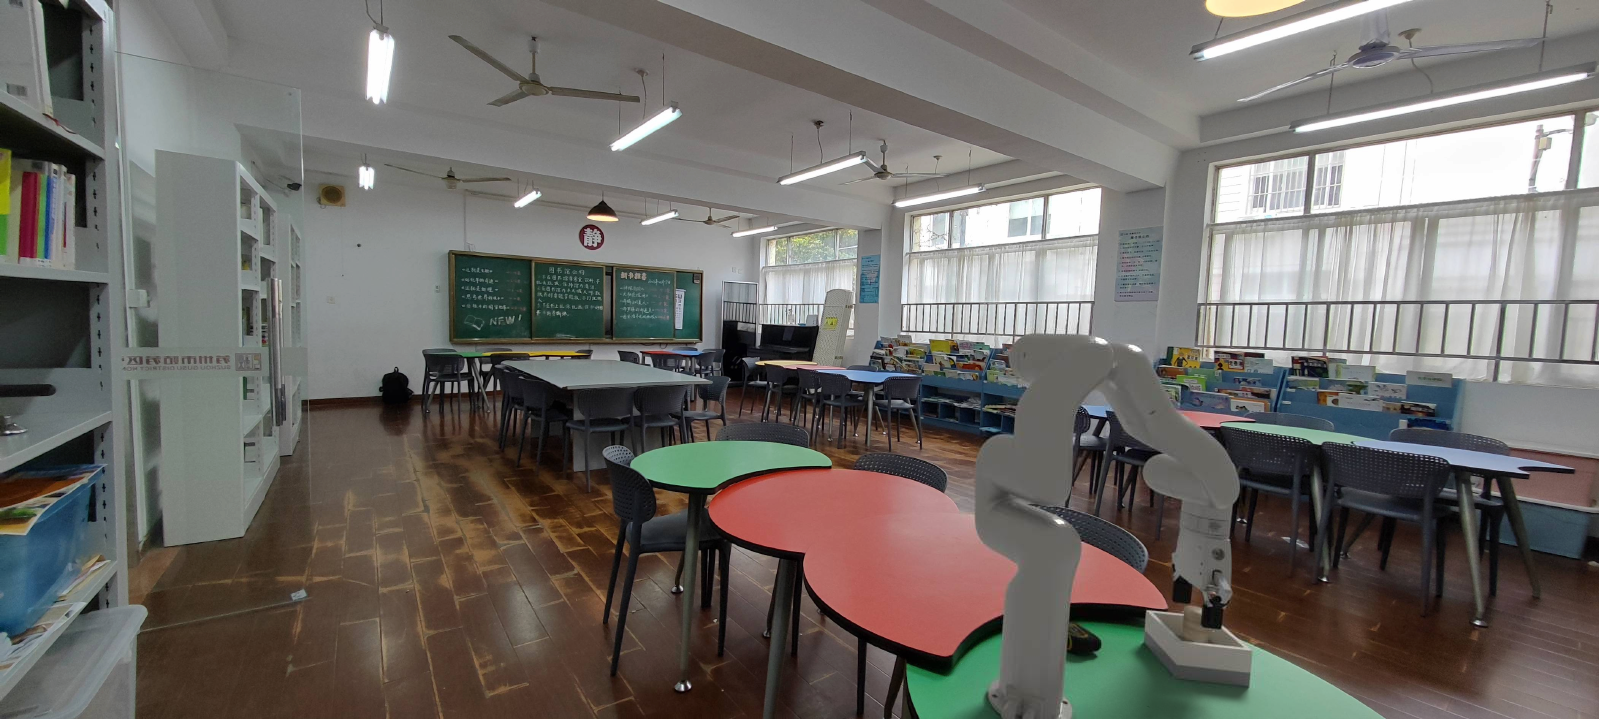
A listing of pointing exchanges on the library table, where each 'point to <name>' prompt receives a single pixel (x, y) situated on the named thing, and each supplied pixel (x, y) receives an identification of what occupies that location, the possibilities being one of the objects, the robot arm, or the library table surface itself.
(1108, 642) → the library table surface
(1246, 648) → the bore box
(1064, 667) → the robot arm
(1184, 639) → the peg
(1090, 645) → the tape measure
